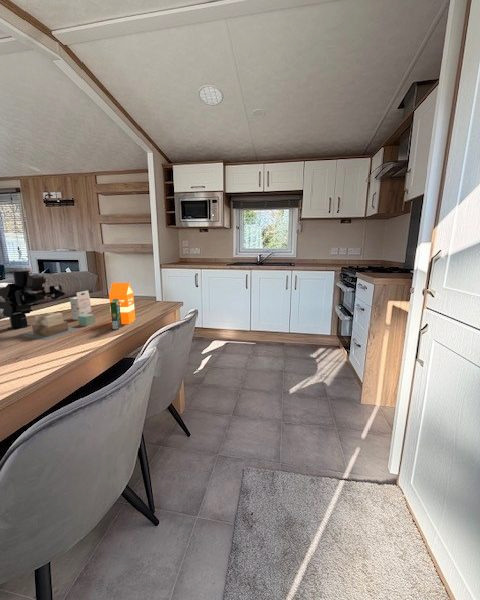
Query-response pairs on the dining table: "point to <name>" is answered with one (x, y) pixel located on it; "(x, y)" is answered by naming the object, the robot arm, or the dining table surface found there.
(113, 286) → the orange juice
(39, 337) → the slate mat
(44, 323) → the birch block
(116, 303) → the coffee box
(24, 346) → the dining table surface
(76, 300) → the ink cartridge box
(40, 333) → the walnut slab
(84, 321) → the sage cube
